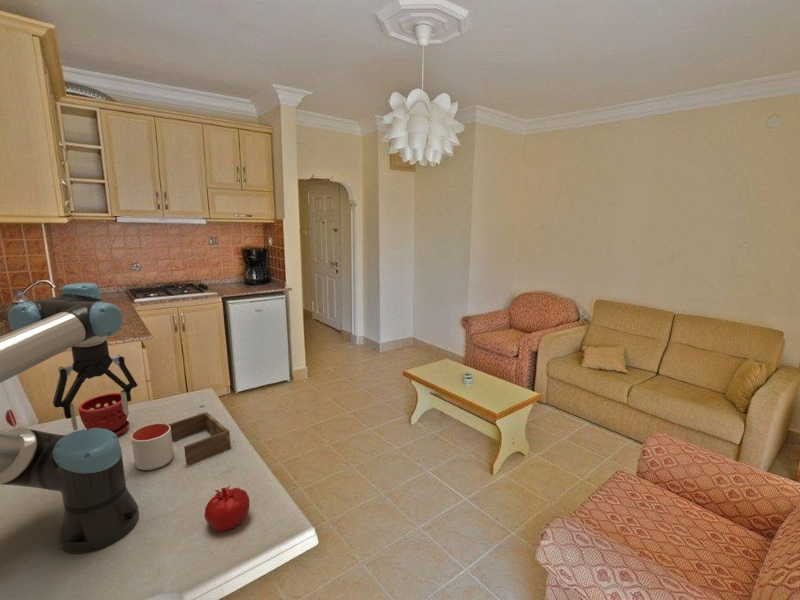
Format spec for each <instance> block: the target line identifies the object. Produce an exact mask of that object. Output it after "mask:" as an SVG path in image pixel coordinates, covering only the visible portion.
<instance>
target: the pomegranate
mask: <svg viewBox="0 0 800 600" xmlns="http://www.w3.org/2000/svg"><path fill="white" fill-rule="evenodd" d="M230 486H231V484H229V485H228V486H227V487H222V488H220V489H221V491H220V490H219V489H216V490H214V492H216V493H215V495H214V496H213V497H212V498H210V500H209V501H208V502H207V504H206V506H205V507H204V509H205V510H204V519H205V521H206V523H207V524H209V526H210V527H212V528H213V530H214V531H216V532H220V533H221V532H226V531H228V530H231V529H233V528H235V527H237V526H238V525H239V524H240V523H242V522H243V520H245V519H246V517H247V515H248V513H249V510H250V506H251V505H250V498H249V495H248V493H247V491H246V490H245V489H242V488H241V487H234V488H230Z"/></svg>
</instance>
